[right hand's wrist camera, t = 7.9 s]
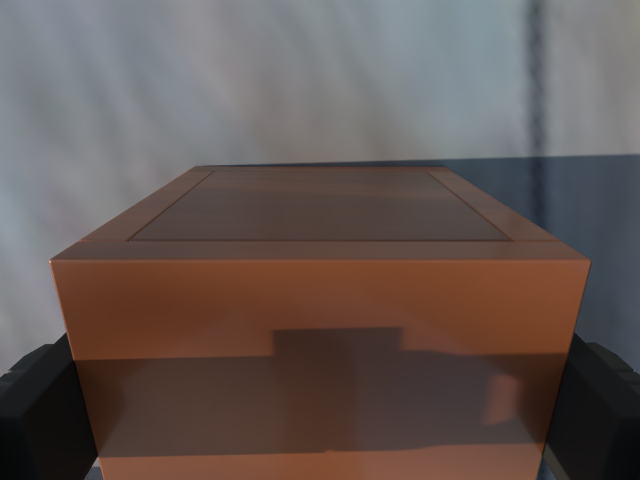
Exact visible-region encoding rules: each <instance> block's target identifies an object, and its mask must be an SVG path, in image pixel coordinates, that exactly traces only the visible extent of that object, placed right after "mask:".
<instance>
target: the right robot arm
mask: <svg viewBox="0 0 640 480" xmlns="http://www.w3.org/2000/svg"><path fill="white" fill-rule="evenodd" d="M97 457H98V455H97V451H96V447H95V443H94V439H93V435H92V431H91V427H90V424H89V420H88V416H87V412H86V408H85V404H84V400H83V396H82V392H81V388H80V384H79V380H78V376H77V372H76V368H75V364H74V360H73V356H72V352H71V348H70V344H69V340H68V336H67V332H66V333H65V334H64V335H63V336H62V337H61V338H60V339H59V340H58V341H57V342H56V343H55V344H45V345H43V346H41V347H40V348H38V349H36V350H34V351H33V352H31V353H29V354H27V355H25V356H24V357H23V358H22V359H20V360H19V361H18V362H17V363H16V364H15V365H14V366H13V367H12V368H11V369H9V370H8V373H7V374H4V375H3V376H2V377H1V378H0V480H84V478H85V477H86V475H87V473H88V472H89V470H90V468H91V467H92V465H93V463H94V462H95V460H96V458H97ZM543 458H544V459H545V461H546V463H547V464H548V466H549V468H550V469H551V471H552V473H553V474H554V476H555V478H556V479H557V480H640V375H639V374H638V373H636V372H633V369H632V368H631V367H630V366H629V365H628V364H626V363H625V362H624V361H623V360H622V359H621V358H620V357H619V356H618V355H616V354H614V353H613V352H611V351H609V350H607V349H605V348H604V347H602V346H600V345H598V344H597V343H585V342H584V341H583V340H582V339H581V338H580V337H579V336H578V335H577V334H575V333H574V335H573V339H572V342H571V346H570V350H569V354H568V358H567V362H566V366H565V370H564V374H563V378H562V382H561V386H560V390H559V393H558V397H557V401H556V405H555V409H554V413H553V417H552V421H551V425H550V429H549V433H548V437H547V441H546V445H545V448H544V452H543Z"/></svg>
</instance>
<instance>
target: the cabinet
mask: <svg viewBox="0 0 640 480" xmlns="http://www.w3.org/2000/svg"><path fill="white" fill-rule="evenodd" d="M49 264H50V268H51V272H52V276H53V280H54V284H55V288H56V292H57V296H58V300H59V304H60V308H61V312H62V316H63V320H64V324H65V328H66V332H67V336H68V340H69V344H70V348H71V352H72V356H73V360H74V364H75V368H76V372H77V376H78V380H79V384H80V388H81V392H82V396H83V400H84V404H85V408H86V412H87V416H88V420H89V424H90V427H91V431H92V435H93V439H94V443H95V447H96V451H97V455H98V459H99V463H100V467H101V471H102V475H103V479H104V480H537V476H538V472H539V468H540V464H541V460H542V456H543V452H544V448H545V445H546V441H547V437H548V433H549V429H550V425H551V421H552V417H553V413H554V409H555V405H556V401H557V397H558V393H559V390H560V386H561V382H562V378H563V374H564V370H565V366H566V362H567V358H568V354H569V350H570V346H571V342H572V339H573V335H574V331H575V327H576V323H577V319H578V315H579V311H580V307H581V303H582V299H583V295H584V291H585V288H586V284H587V280H588V276H589V272H590V268H591V264H592V262H591V259H589V258H587V257H586V256H584V255H583V254H581V253H580V252H578V251H576V250H575V249H573V248H572V247H570V246H569V245H567V244H565V243H564V242H561V240H559V239H558V238H556V237H555V236H553V235H551V234H550V233H548V232H547V231H545V230H544V229H542V228H540V227H539V226H537V225H536V224H534V223H532V222H531V221H529V220H528V219H526V218H525V217H523V216H521V215H520V214H518V213H517V212H515V211H514V210H512V209H510V208H509V207H507V206H506V205H504V204H503V203H501V202H499V201H498V200H496V199H495V198H493V197H492V196H490V195H488V194H487V193H485V192H484V191H482V190H481V189H479V188H477V187H476V186H474V185H473V184H471V183H470V182H468V181H466V180H465V179H463V178H462V177H460V176H459V175H457V174H455V173H454V172H453V171H451V170H450V169H448V168H446V167H346V166H195V167H193V168H192V169H190V170H188V171H187V172H186V173H184V174H182V175H181V176H179V177H178V178H176V179H175V180H173V181H171V182H170V183H168V184H167V185H165V186H164V187H162V188H160V189H159V190H157V191H156V192H154V193H153V194H151V195H149V196H148V197H146V198H145V199H143V200H142V201H140V202H138V203H137V204H135V205H134V206H132V207H131V208H129V209H128V210H126V211H124V212H123V213H121V214H120V215H118V216H117V217H115V218H113V219H112V220H110V221H109V222H107V223H106V224H104V225H102V226H101V227H99V228H98V229H96V230H95V231H93V232H91V233H90V234H88V235H87V236H85V237H84V238H82V239H80V240H79V242H76V243H75V244H73V245H72V246H70V247H68V248H67V249H65V250H64V251H62V252H61V253H59V254H57V255H56V256H54V257H53V258H51V259H50V260H49Z"/></svg>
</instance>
